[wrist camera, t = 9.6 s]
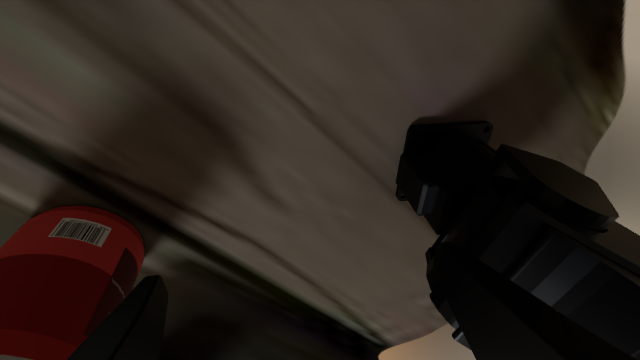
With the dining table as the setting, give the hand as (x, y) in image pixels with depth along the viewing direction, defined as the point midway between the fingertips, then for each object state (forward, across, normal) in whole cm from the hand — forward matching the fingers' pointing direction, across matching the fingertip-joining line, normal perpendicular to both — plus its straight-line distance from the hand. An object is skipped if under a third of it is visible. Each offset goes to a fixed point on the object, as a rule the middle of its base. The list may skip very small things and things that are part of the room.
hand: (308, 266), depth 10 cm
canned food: (+13, +15, +9) cm, 22 cm away
